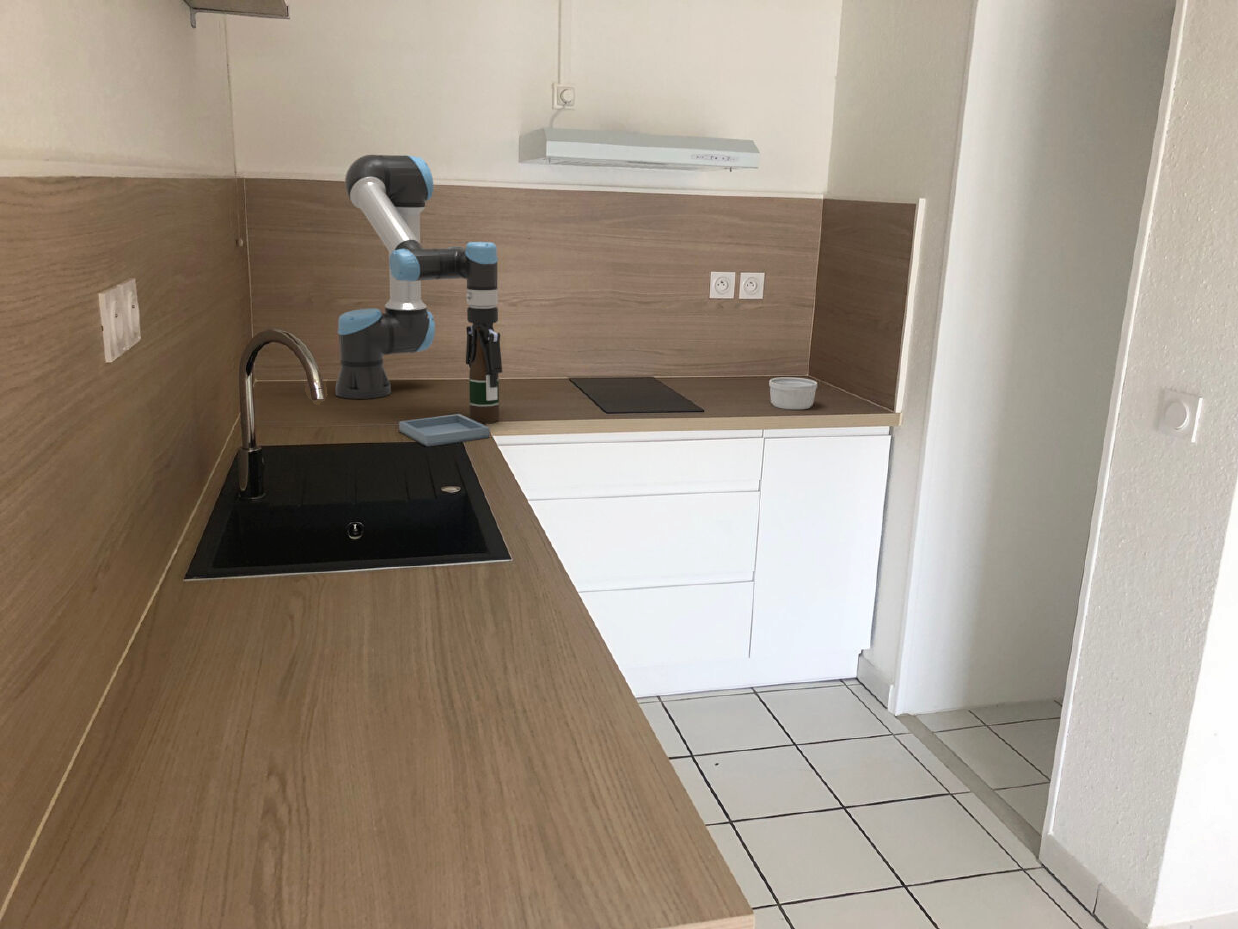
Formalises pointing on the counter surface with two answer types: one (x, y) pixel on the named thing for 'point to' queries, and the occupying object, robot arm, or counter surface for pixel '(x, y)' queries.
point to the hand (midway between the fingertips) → (484, 396)
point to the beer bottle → (481, 390)
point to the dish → (443, 430)
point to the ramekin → (792, 393)
